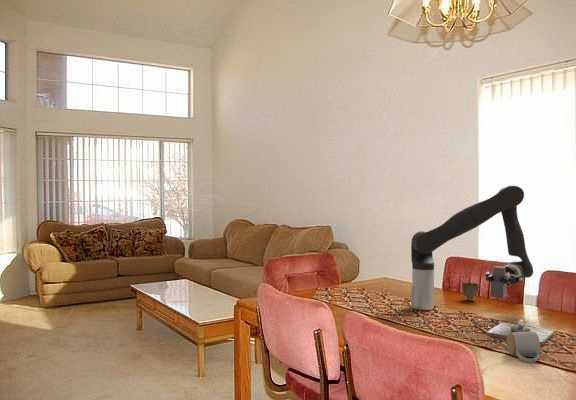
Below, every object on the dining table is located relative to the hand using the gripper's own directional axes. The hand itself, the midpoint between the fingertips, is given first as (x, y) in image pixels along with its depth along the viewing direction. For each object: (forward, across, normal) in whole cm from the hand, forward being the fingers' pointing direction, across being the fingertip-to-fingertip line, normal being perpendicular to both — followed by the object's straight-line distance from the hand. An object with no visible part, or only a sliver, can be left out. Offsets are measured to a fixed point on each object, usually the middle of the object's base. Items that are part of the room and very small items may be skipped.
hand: (496, 280), depth 192 cm
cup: (-43, -24, +18) cm, 53 cm away
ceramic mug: (+31, +17, +18) cm, 39 cm away
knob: (-3, 0, +6) cm, 7 cm away
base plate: (+4, +10, +18) cm, 21 cm away
